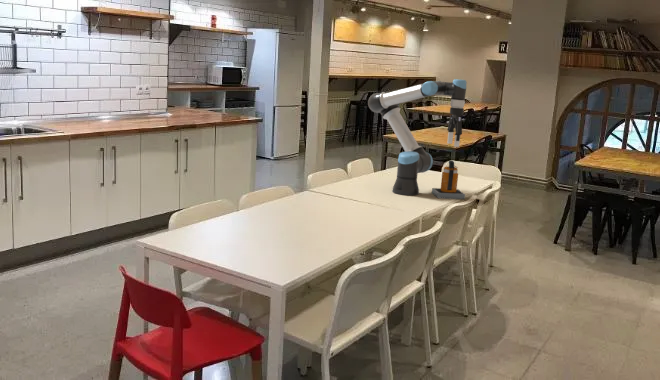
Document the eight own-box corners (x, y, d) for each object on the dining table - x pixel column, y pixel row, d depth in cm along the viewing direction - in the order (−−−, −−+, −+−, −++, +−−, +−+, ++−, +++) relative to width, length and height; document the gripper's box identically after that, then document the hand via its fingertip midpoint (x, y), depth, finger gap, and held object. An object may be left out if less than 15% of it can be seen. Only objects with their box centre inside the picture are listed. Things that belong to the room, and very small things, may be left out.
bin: (437, 198, 348) (438, 192, 348) (431, 193, 361) (432, 188, 361) (464, 199, 350) (465, 194, 349) (457, 194, 363) (458, 189, 362)
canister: (455, 194, 360) (458, 160, 356) (456, 197, 349) (460, 162, 345) (439, 192, 361) (443, 158, 357) (440, 196, 350) (444, 161, 346)
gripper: (470, 109, 334) (466, 148, 338) (457, 106, 358) (453, 142, 362) (457, 108, 333) (452, 147, 337) (444, 105, 357) (440, 141, 362)
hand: (453, 145), depth 350 cm, fingers open, 13 cm apart
